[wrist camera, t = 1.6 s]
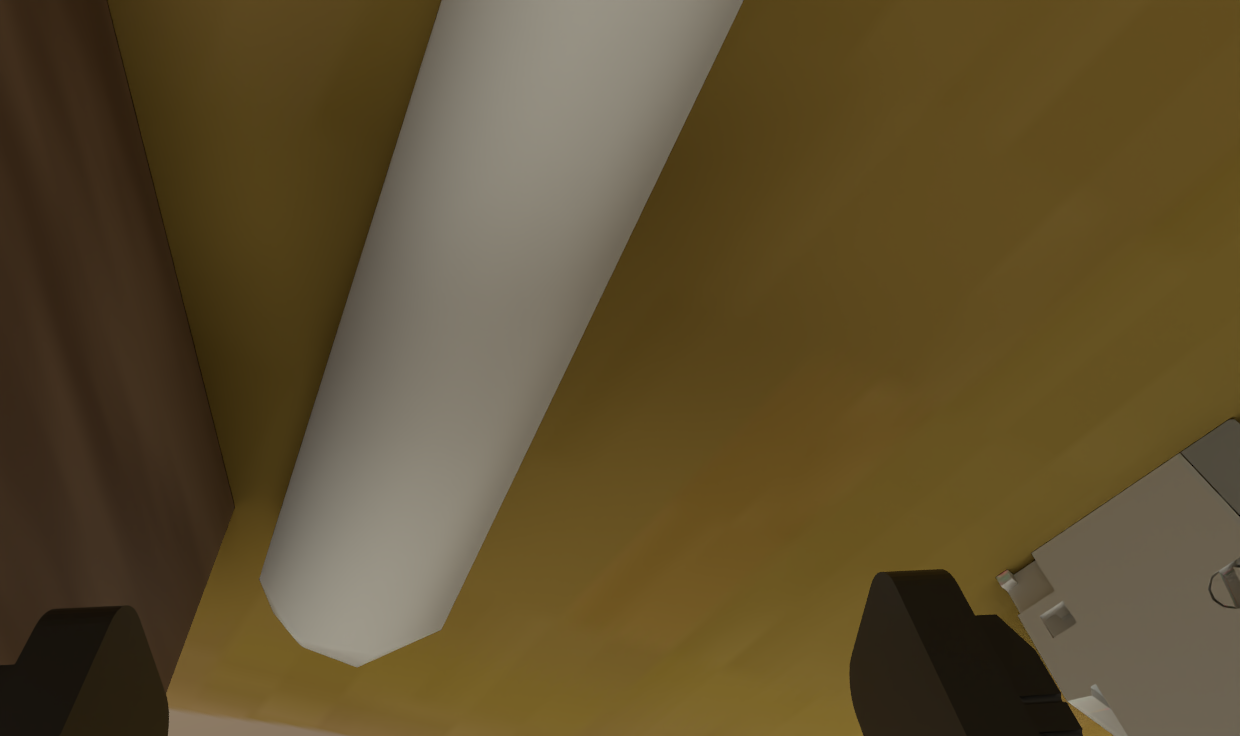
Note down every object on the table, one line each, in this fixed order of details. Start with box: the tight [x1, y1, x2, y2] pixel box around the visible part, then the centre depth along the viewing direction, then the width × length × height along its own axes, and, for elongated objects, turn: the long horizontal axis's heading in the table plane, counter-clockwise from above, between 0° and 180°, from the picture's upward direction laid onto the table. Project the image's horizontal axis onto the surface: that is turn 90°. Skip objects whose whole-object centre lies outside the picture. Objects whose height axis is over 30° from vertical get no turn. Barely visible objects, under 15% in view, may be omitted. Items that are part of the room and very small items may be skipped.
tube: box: [259, 0, 743, 667], centre depth 19 cm, size 5×5×25 cm
